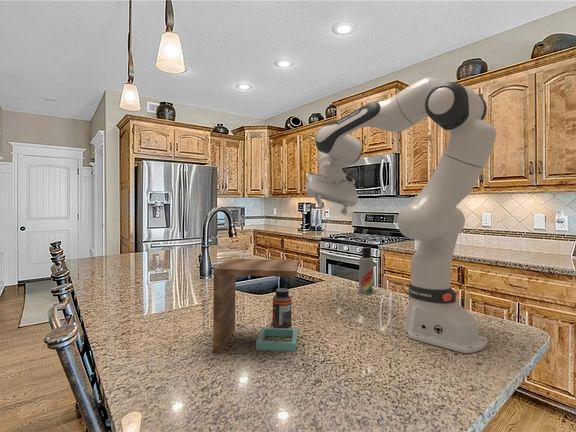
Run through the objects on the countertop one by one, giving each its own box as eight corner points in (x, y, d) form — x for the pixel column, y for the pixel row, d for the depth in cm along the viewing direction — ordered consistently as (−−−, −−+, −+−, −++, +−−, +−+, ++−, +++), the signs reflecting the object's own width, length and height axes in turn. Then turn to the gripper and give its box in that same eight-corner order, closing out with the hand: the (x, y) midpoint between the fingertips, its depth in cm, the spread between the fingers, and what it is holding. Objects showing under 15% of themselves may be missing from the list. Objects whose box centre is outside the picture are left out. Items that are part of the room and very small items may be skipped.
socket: (297, 335, 98) (297, 328, 98) (295, 351, 87) (296, 343, 87) (261, 334, 98) (261, 327, 98) (256, 349, 88) (256, 342, 88)
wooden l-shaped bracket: (297, 331, 100) (298, 260, 100) (294, 356, 84) (295, 271, 84) (228, 329, 102) (229, 258, 101) (213, 352, 86) (213, 268, 85)
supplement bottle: (269, 323, 108) (270, 288, 107) (287, 321, 110) (287, 286, 109) (275, 329, 102) (276, 292, 101) (294, 327, 104) (294, 291, 104)
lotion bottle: (372, 294, 143) (373, 247, 142) (358, 294, 144) (360, 247, 143) (372, 291, 148) (373, 246, 147) (358, 290, 149) (359, 245, 148)
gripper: (310, 166, 119) (311, 199, 112) (358, 180, 126) (362, 212, 119) (302, 175, 124) (302, 208, 117) (349, 189, 131) (352, 220, 124)
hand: (333, 210), depth 118 cm, fingers open, 8 cm apart
